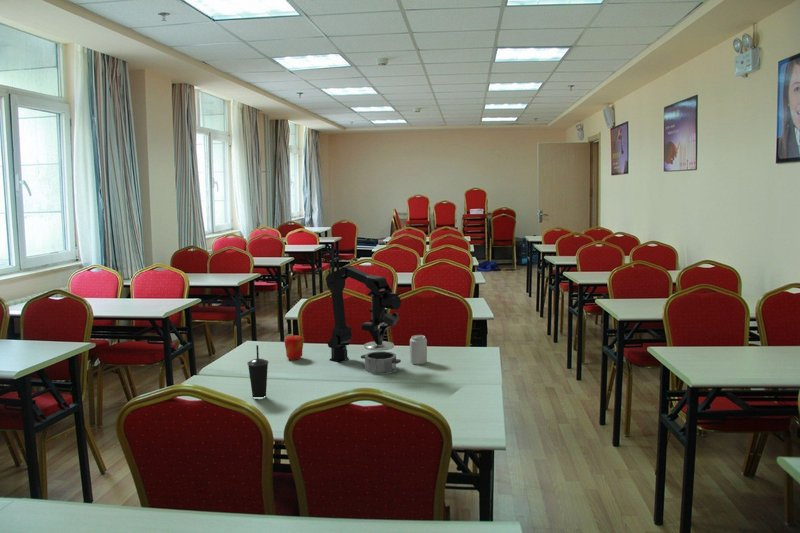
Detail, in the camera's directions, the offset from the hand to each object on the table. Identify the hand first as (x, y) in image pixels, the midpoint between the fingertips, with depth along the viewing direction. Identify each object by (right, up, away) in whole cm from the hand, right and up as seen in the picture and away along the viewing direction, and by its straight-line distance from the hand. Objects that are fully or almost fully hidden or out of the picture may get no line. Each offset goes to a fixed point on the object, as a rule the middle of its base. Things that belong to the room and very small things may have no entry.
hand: (378, 343), depth 270 cm
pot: (+1, -11, +2) cm, 12 cm away
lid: (0, -2, 0) cm, 2 cm away
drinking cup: (-44, -17, -33) cm, 57 cm away
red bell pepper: (-39, -10, +19) cm, 44 cm away
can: (+17, -10, +11) cm, 23 cm away
